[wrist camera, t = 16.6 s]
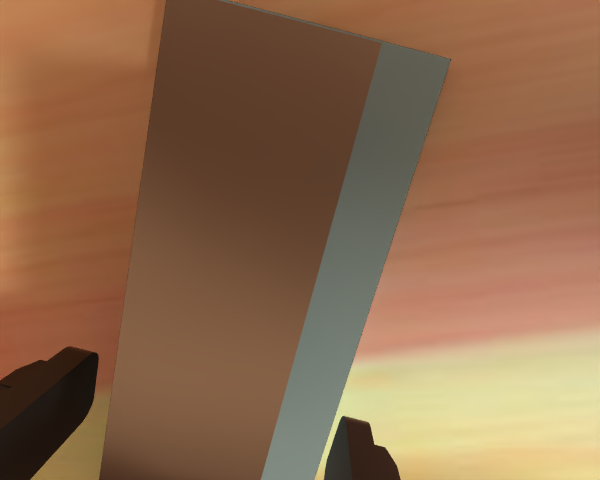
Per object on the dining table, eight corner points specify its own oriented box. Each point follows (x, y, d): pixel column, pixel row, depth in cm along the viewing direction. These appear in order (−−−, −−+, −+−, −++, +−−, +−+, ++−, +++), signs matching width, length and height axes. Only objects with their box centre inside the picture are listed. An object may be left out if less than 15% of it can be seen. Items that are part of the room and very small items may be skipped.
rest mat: (181, -4, 10) (173, -15, 9) (443, 65, 10) (451, 59, 9) (100, 545, 15) (91, 561, 14) (275, 588, 15) (273, 605, 14)
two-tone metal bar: (241, 76, 10) (163, -16, 5) (350, 104, 10) (385, 43, 5) (152, 536, 14) (59, 746, 9) (229, 555, 14) (180, 775, 9)
